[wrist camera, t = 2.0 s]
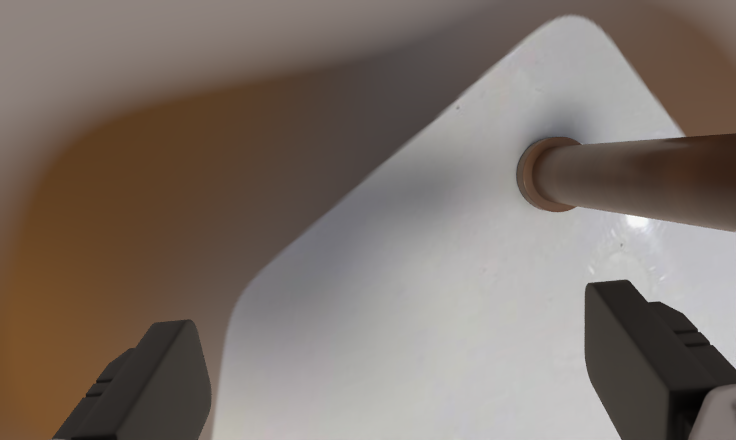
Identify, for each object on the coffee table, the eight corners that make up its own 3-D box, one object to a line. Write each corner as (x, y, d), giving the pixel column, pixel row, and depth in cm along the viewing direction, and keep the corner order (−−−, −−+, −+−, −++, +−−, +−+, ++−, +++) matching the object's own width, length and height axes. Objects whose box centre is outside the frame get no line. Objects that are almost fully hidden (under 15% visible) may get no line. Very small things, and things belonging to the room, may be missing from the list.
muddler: (502, 167, 33) (701, 170, 16) (560, 122, 33) (822, 78, 16) (543, 225, 33) (780, 289, 16) (601, 181, 33) (897, 200, 16)
